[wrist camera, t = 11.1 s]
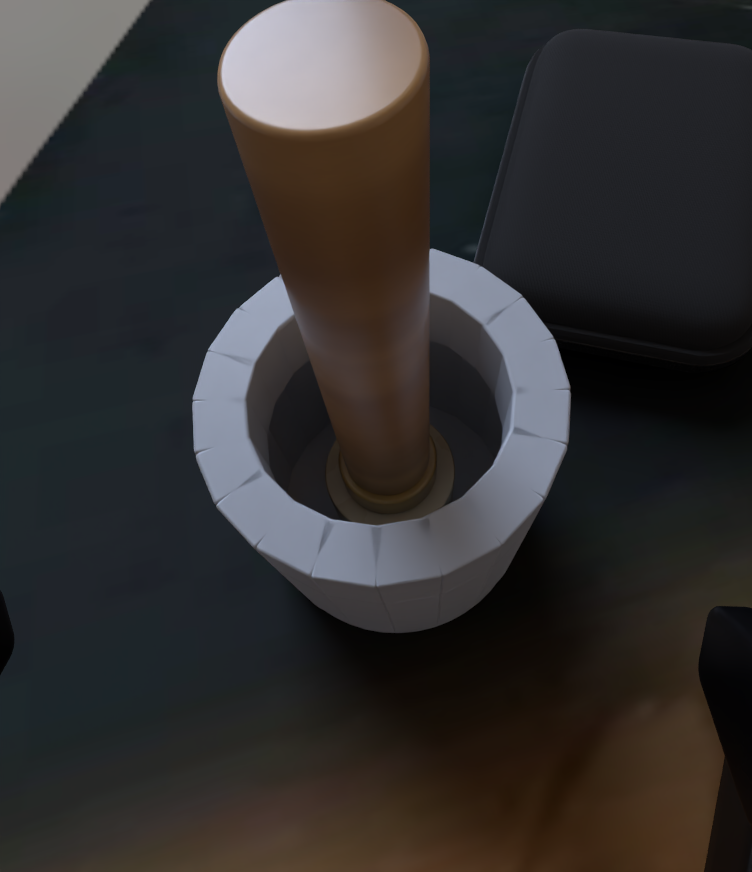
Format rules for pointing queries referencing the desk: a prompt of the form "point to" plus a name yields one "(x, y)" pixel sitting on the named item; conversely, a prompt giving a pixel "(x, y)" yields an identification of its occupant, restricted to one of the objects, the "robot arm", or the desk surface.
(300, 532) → the pencil cup
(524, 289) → the carrying case
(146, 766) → the desk surface
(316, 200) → the tall brown cylinder
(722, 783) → the multiport hub
